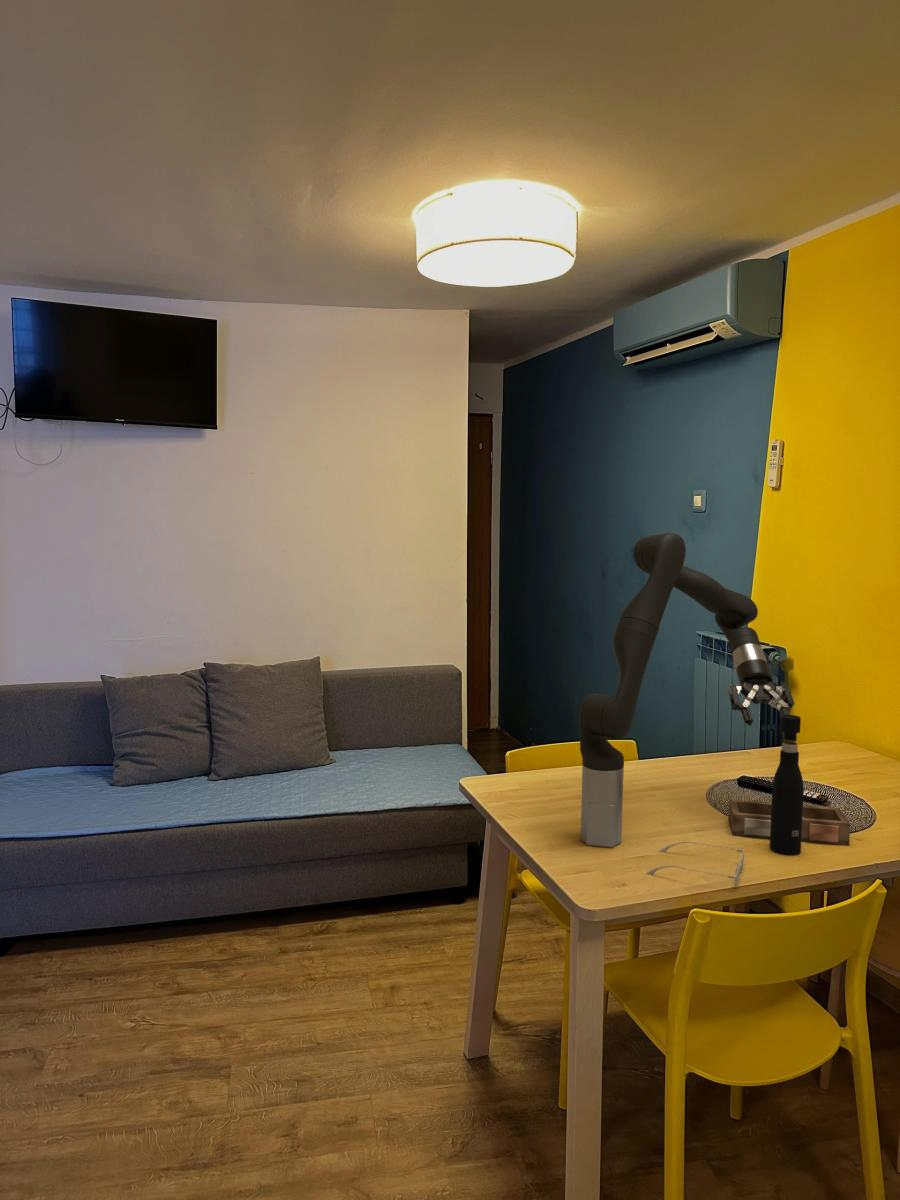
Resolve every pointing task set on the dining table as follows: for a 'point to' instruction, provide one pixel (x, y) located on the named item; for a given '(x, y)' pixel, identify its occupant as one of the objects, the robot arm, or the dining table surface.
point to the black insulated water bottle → (787, 793)
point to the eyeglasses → (736, 877)
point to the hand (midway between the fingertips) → (768, 723)
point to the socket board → (815, 822)
